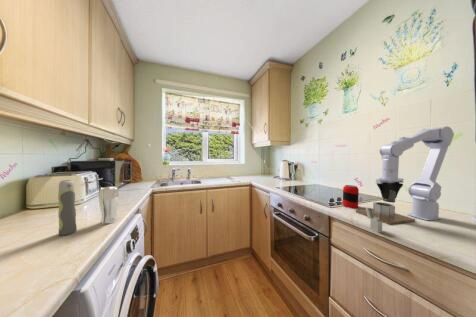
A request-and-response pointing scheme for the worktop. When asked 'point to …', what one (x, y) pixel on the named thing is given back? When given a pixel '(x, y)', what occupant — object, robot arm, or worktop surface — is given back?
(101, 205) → the beer glass
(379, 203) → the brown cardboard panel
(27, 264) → the worktop surface
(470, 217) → the worktop surface
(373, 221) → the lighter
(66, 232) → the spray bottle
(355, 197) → the soda can
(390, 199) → the grey short cylinder
